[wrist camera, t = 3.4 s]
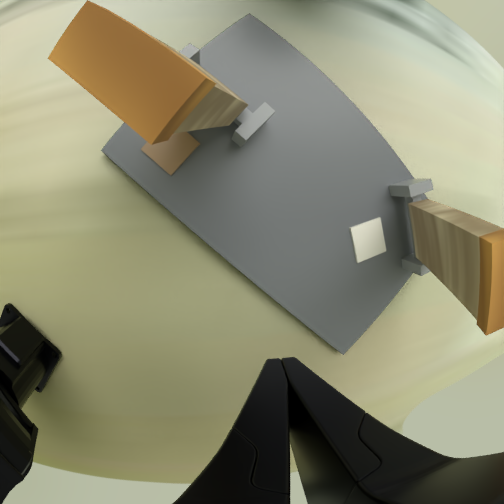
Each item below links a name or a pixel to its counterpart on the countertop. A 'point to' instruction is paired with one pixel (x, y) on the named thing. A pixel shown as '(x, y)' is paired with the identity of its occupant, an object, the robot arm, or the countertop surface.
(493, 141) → the countertop surface
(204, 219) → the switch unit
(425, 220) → the lever
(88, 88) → the lever
